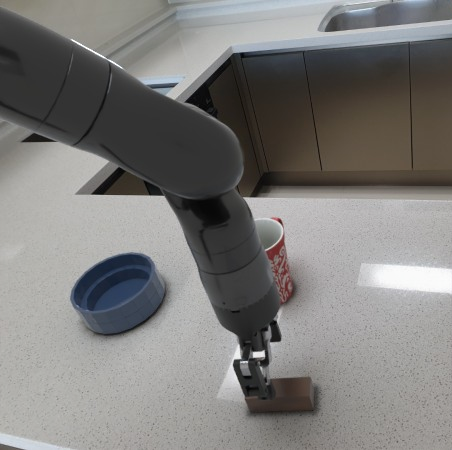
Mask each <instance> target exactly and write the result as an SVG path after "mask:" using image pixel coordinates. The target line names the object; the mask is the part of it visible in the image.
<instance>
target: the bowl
mask: <svg viewBox="0 0 452 450" xmlns="http://www.w3.org/2000/svg"><path fill="white" fill-rule="evenodd" d="M165 294H166V286H165V282H164V280H163V278H162V275H161V274H160V272H159V270H158V268H157V266H156V263H155V262H154V260H152V257H150V256H149V255H147V254H144V253H142V252H134V251H131V252H130V251H129V252H123V253H118V254H115V255H111V256H107V257H106V258H104V259H103V260H100V261H98V262H97V263H95V264H93V265H92V266H90V267H89V268H88V269H87V270H85V271H84V272H83V273H82V274H81V276H79V278H78V279H77V280H76V281H75V283H74V285H73V286H72V289H71V292H70V297H69V301H70V304H71V306H72V308H73V309H74V310H75V312H76V314H77V315H78V316H79V317H80V319H81V321H82V322H83V323H84V325H85V326H86V328H87V329H89V330H91V331H92V332H94V333H97V334H98V333H99V334H103V335H109V334H118V333H121V332H124V331H127V330H130V329H133V328H135V326H138V325H139V324H142V323H143V322H144V321H146V320H147V319H148V318H149V317H150V316H152V315H153V314H154V313H155V312H156V310H157V309H158V308H159V307H160V305H161V304H162V302H163V298H164V296H165Z"/></svg>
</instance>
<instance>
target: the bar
mask: <svg viewBox="0 0 452 450" xmlns="http://www.w3.org/2000/svg"><path fill="white" fill-rule="evenodd" d="M271 381H272V383H273V386H274V389H275V391H276V395H275V399H272V400H268V401H260V400H259V399H258V397H257V396H254V397H245V396H244V401H245V403H246V406H247V408H248V411H249V412H250V413H262V412H265V413H266V412H288V411H289V412H292V411H312V410H313V411H314V407H315V388H314V384H313V381H312V377H311V376H297V377H279V378H278V377H275V378H274V377H273V378H271Z"/></svg>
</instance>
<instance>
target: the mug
mask: <svg viewBox="0 0 452 450" xmlns="http://www.w3.org/2000/svg"><path fill="white" fill-rule="evenodd" d="M254 221H255V224H256V228H257V231H258V234H259V238H260V241H261V243H262V245H263V247H264V249H265V251H266V253H267V256H268V259H269V262H270V265H271V269H272V272H273V275H274V279H275V282H276V285H277V289H278V292H279V295H280V300H281V304H280V306H281V305H283V304H284V303H286V302H287V301H288V300H289V299H290V298H291V296H292V295H293V291H294V287H293V280H292V275H291V270H290V263H289V259H288V253H287V252H288V251H287V246H286V241H285V238H286V237H285V227H284V222H283V220H282V218H280V217H276V216H275V217H270V218H267V217H259V218H254Z"/></svg>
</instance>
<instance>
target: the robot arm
mask: <svg viewBox="0 0 452 450" xmlns="http://www.w3.org/2000/svg"><path fill="white" fill-rule="evenodd" d="M0 120H1V121H3V122H6V123H9V124H11V125H13V126H16V127H19V128H21V129H24V130H25V131H28V132H31V133H33V134H37V135H39V136H42V137H44V138H47V139H49V140H52V141H55V142H57V143H60V144H62V145H65V146H69V147H70V148H73V149H76V150H80V151H81V152H85V153H89V154H92V155H94V156H97V157H99V158H101V159H104V160H106V161H108V162H111V163H112V164H114V165H115V166H117V167H119V168H121V169H122V170H124V171H126V172H128V173H130V174H131V175H134V176H136V177H137V178H139V179H141V180H143V181H145V182H147V183H149V184H150V185H153V186H154V187H157V188H159V189H160V191H161V192H162V195H163V196H164V198H165V200H166V202H167V204H168V205H169V207H170V208H171V210H172V211H173V213H174V215H175V217H176V218H177V221H178V223H179V226H180V227H181V230H182V232H183V235H184V239H185V241H186V243H187V246H188V249H189V251H190V253H191V256H192V257H193V261H194V262H195V264H196V268H197V271H198V276H199V279H200V282H201V285H202V287H203V289H204V291H205V294H206V296H207V298H208V300H209V303H210V305H211V307H212V309H213V311H214V314H215V317H216V319H217V320H218V323H219V324H220V325H221V327H222V328H224V329H225V330H227V331H228V332H231V333H232V334H234V335H235V337H236V342H237V344H238V345H239V355H240V358H235V359H233V361H232V368H233V371H234V373H235V377H236V378H237V382H238V384H239V386H240V388H241V391H242V394H243V395H244V398H245V397H254V396H257V397H258V399H259V400H260V401H268V400H272V399H275V395H276V391H275V389H274V386H273V383H272V381H271V379H272V378H271V375H270V365H271V363H272V361H273V356H272V355H273V354H272V346H271V343H280V342H281V341H282V339H283V336H282V332H281V329H280V325H279V322H278V319H279V315H278V313H279V312H280V309H281V305H282V304H281V300H280V295H279V292H278V289H277V285H276V282H275V279H274V275H273V272H272V269H271V265H270V262H269V259H268V256H267V253H266V251H265V249H264V247H263V245H262V243H261V241H260V238H259V234H258V231H257V228H256V224H255V221H254V219H255V217H254V215H253V212H252V210H251V208H250V206H249V204H248V202H247V200H246V199H245V198H244V197H243V196H242V194H241V193H240V192H239V191H238V190H237V189H236V187H237V185H238V184H239V183H240V181H241V179H242V177H243V175H244V171H245V165H246V158H245V157H246V156H245V151H244V148H243V145H242V143H241V141H240V139H239V137H238V136H237V134H236V133H235V132H234V131H233V130H232V129H231V128H230V127H229V126H228V125H227V124H226V123H224V122H222V121H221V120H219V119H217V118H216V117H215V116H212V115H211V114H209V113H208V112H206V111H205V110H203V109H202V108H199V107H198V106H197V105H194V104H191V103H188V102H184V101H178V100H176V99H173V98H172V97H170V96H167V95H165V94H164V93H162V92H159V91H158V90H156V89H153V88H152V87H150V86H148V85H147V84H145V83H144V82H142V81H141V80H140V79H138V78H137V77H136V76H134V75H133V74H132V73H130V72H129V71H127V70H126V69H125V68H123V67H122V66H120V65H119V64H117V63H116V62H114V61H112V60H110V59H107V58H106V57H104V56H103V55H101V54H99V53H98V52H95V51H93V50H92V49H90V48H88V47H86V46H84V45H82V44H81V43H79V42H77V41H75V40H73V39H72V38H70V37H68V36H66V35H64V34H62V33H61V32H58V31H56V30H54V29H53V28H51V27H49V26H46V25H44V24H43V23H40V22H38V21H36V20H35V19H32V18H30V17H28V16H26V15H23V14H21V13H19V12H17V11H15V10H12V9H11V8H8V7H6V6H3V5H1V4H0ZM280 304H281V305H280ZM261 352H263V353H264V356H258V357H257V356H255V357H254V353H261ZM261 368H262V369H261Z"/></svg>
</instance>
